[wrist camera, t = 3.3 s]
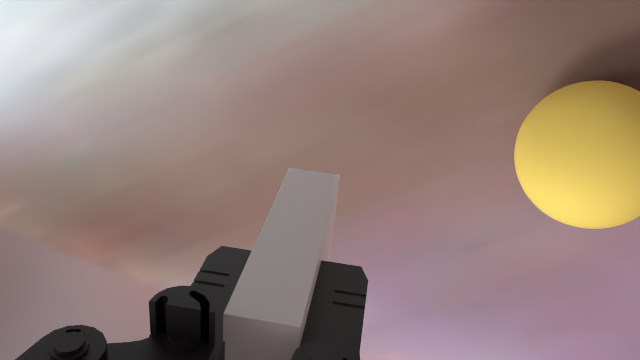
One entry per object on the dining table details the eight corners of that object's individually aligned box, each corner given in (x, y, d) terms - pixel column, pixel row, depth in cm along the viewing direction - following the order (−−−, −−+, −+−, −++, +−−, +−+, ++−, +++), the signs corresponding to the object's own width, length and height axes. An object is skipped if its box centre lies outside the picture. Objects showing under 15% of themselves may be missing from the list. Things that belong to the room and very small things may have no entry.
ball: (524, 54, 24) (550, 100, 19) (667, 71, 23) (733, 124, 18) (492, 176, 26) (509, 244, 21) (621, 194, 26) (668, 269, 21)
